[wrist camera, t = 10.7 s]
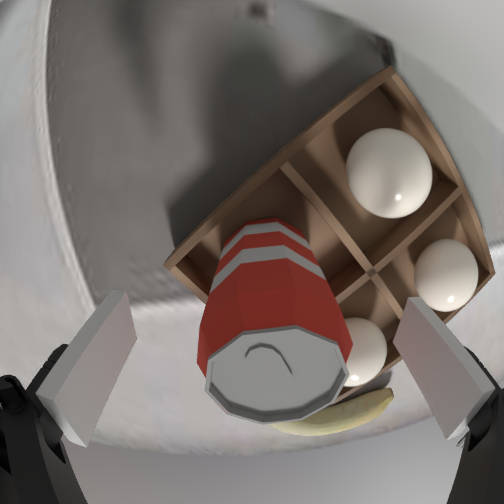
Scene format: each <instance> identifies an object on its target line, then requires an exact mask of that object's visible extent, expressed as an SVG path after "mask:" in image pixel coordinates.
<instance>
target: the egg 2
mask: <svg viewBox="0 0 504 504" xmlns="http://www.w3.org/2000/svg"><path fill="white" fill-rule="evenodd" d="M346 178H347V183H348V186H349V189H350V191H351V193H352V195H353V196H354V198H355V199H356V200H357V202H358V203H359V204H360V205H361V206H362V207H363V208H365V209H366V210H367V211H369V212H371V213H373V214H375V215H377V216H380V217H384V218H400V217H404V216H407V215H409V214H411V213H413V212H414V211H416V210H417V209H418V208H419V207H420V206H421V205H422V204H423V203H424V202H425V200H426V198H427V197H428V195H429V192H430V189H431V185H432V167H431V163H430V160H429V157H428V155H427V153H426V151H425V150H424V148H423V147H422V146H421V144H420V143H419V142H418V141H417V140H416V139H414V138H413V137H412V136H410V135H409V134H407V133H405V132H403V131H400V130H397V129H392V128H380V129H375V130H372V131H369V132H368V133H366V134H364V135H363V136H361V137H360V138H359V139H358V140H357V141H356V142H355V143H354V145H353V146H352V148H351V150H350V152H349V154H348V158H347V162H346Z"/></svg>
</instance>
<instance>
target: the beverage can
mask: <svg viewBox="0 0 504 504" xmlns="http://www.w3.org/2000/svg"><path fill="white" fill-rule="evenodd" d="M352 347H353V342H352V339H351V336H350V334H349V331H348V328H347V325H346V323H345V320H344V317H343V315H342V312H341V309H340V307H339V305H338V303H337V301H336V299H335V297H334V295H333V292H332V290H331V288H330V286H329V284H328V282H327V280H326V278H325V276H324V274H323V272H322V270H321V268H320V266H319V264H318V262H317V260H316V258H315V256H314V254H313V252H312V250H311V248H310V246H309V245H308V243H307V241H306V239H305V237H304V235H303V233H302V231H301V230H299V229H297V228H295V227H293V226H291V225H290V224H288V223H286V222H284V221H282V220H280V219H278V218H276V217H274V218H266V219H259V220H251V221H246V222H245V223H244V224H243V225H242V226H241V227H240V228H239V229H238V230H236V231H235V232H234V233H233V234H232V235H231V236H230V237H229V238H228V239H227V240H226V241H225V244H224V247H223V251H222V254H221V257H220V260H219V263H218V267H217V270H216V273H215V276H214V280H213V283H212V286H211V290H210V293H209V296H208V300H207V303H206V306H205V310H204V313H203V317H202V320H201V323H200V330H199V342H198V354H197V364H198V366H199V367H200V369H201V371H202V372H203V374H204V376H205V377H206V384H205V392H206V393H207V394H208V395H209V396H210V397H211V398H212V399H213V400H214V401H215V402H216V403H217V404H218V405H219V407H220V408H221V409H222V410H223V411H224V412H225V413H226V414H228V415H231V416H235V417H238V418H241V419H245V420H248V421H252V422H255V423H259V424H273V423H283V422H292V421H299V420H303V419H305V418H307V417H309V416H311V415H313V414H314V413H316V412H318V411H320V410H322V409H323V408H325V407H327V406H329V405H330V404H332V403H334V402H335V400H336V398H337V397H338V395H339V393H340V391H341V390H342V388H343V386H344V384H345V382H346V381H347V379H348V377H349V375H350V374H349V371H348V368H347V366H346V363H347V360H348V357H349V355H350V352H351V349H352Z"/></svg>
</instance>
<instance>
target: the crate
mask: <svg viewBox="0 0 504 504" xmlns="http://www.w3.org/2000/svg"><path fill="white" fill-rule="evenodd" d="M380 128H392V129H397V130H400V131H403V132H405V133H407V134H409V135H410V136H412V137H413V138H414V139H416V140H417V141H418V142H419V143H420V144H421V146H422V147H423V148H424V150H425V151H426V153H427V155H428V157H429V160H430V163H431V167H432V185H431V189H430V192H429V195H428V197H427V198H426V200H425V202H424V203H423V204H422V205H421V206H420V207H419V208H418V209H417V210H416V211H414V212H413V213H411V214H409V215H407V216H404V217H400V218H384V217H380V216H377V215H375V214H373V213H371V212H369V211H367V210H366V209H365V208H363V207H362V206H361V205H360V204H359V203H358V202H357V200H356V199H355V198H354V196H353V195H352V193H351V191H350V189H349V186H348V183H347V178H346V162H347V158H348V154H349V152H350V150H351V148H352V146H353V145H354V143H355V142H356V141H357V140H358V139H359V138H360V137H361V136H363V135H364V134H366V133H368V132H369V131H372V130H375V129H380ZM274 217H276V218H278V219H280V220H282V221H284V222H286V223H288V224H290V225H291V226H293V227H295V228H297V229H299V230H301V231H302V233H303V235H304V237H305V239H306V241H307V243H308V245H309V246H310V248H311V250H312V252H313V254H314V256H315V258H316V260H317V262H318V264H319V266H320V268H321V270H322V272H323V274H324V276H325V278H326V280H327V282H328V284H329V286H330V288H331V290H332V292H333V295H334V297H335V299H336V301H337V303H338V305H339V307H340V309H341V312H342V315H343V317H344V319H345V318H351V317H359V318H363V319H367V320H369V321H371V322H373V323H374V324H375V325H376V326H377V327H378V328H379V329H380V330H381V331H382V333H383V335H384V337H385V340H386V344H387V356H386V360H385V363H384V365H383V367H382V369H381V370H380V372H379V373H378V374H377V375H376V376H375V377H374V378H373V379H372V380H374V379H375V378H377V377H378V376H380V375H381V374H383V373H384V372H385V371H387V370H388V369H390V368H391V367H393V366H394V365H395V364H397V363H398V362H399V361H401V360H402V359H403V358H402V357H401V355H400V353H399V352H398V350H397V348H396V347H395V345H394V343H393V340H394V337H395V335H396V332H397V329H398V326H399V324H400V321H401V318H402V315H403V312H404V309H405V306H406V303H407V299H408V297H419V295H418V293H417V291H416V287H415V283H414V269H415V265H416V262H417V259H418V257H419V255H420V254H421V252H422V251H423V250H424V249H425V248H426V247H427V246H428V245H429V244H431V243H433V242H435V241H437V240H440V239H454V240H457V241H459V242H461V243H463V244H464V245H466V246H467V247H468V248H469V249H470V251H471V252H472V254H473V255H474V257H475V259H476V262H477V266H478V282H477V286H476V289H475V291H474V293H473V295H472V297H471V298H470V299H469V301H470V300H471V299H472V298H473V297H474V296H475V295H476V294H477V293H478V292H479V291H480V290H481V289H482V288H483V287H484V286H485V285H486V283H487V282H488V281H489V280H490V279H491V278H492V277H493V276H494V275H495V270H494V266H493V262H492V259H491V255H490V252H489V248H488V245H487V242H486V239H485V236H484V233H483V230H482V227H481V224H480V221H479V219H478V216H477V213H476V211H475V208H474V206H473V203H472V201H471V198H470V196H469V194H468V191H467V189H466V187H465V185H464V182H463V180H462V178H461V176H460V174H459V172H458V170H457V168H456V166H455V164H454V162H453V160H452V158H451V156H450V154H449V152H448V150H447V148H446V147H445V145H444V143H443V141H442V139H441V138H440V136H439V134H438V133H437V131H436V129H435V128H434V126H433V124H432V123H431V121H430V119H429V118H428V116H427V115H426V113H425V112H424V110H423V109H422V107H421V106H420V104H419V103H418V101H417V100H416V98H415V97H414V95H413V94H412V93H411V91H410V90H409V89H408V87H407V86H406V84H405V83H404V82H403V80H402V79H401V78H400V77H399V75H398V74H397V73H396V72H395V70H394V69H393V68H392V67H391V65H390V66H388V67H386V68H385V69H383V70H381V71H379V72H377V73H375V74H373V75H372V76H371V77H369V78H368V79H367V80H365V81H364V82H363V83H361V84H360V85H359V86H357V87H356V88H355V89H354V90H352V91H351V92H350V93H348V94H347V95H346V96H345V97H343V98H342V99H341V100H339V101H338V102H337V103H336V104H334V105H333V106H332V107H331V108H329V109H328V110H327V111H326V112H324V113H323V114H322V115H321V116H320V117H318V118H317V119H316V120H315V121H313V122H312V123H311V124H310V125H309V126H307V127H306V128H305V129H304V130H303V131H301V132H300V133H299V134H298V135H297V136H296V137H294V138H293V139H292V140H291V141H290V142H289V143H287V144H286V145H285V146H284V147H283V148H282V149H280V150H279V151H278V152H277V153H276V154H275V155H274V156H272V157H271V158H270V159H269V160H268V161H267V162H266V163H265V164H263V165H262V166H261V167H260V168H259V169H258V170H257V171H256V172H254V173H253V174H252V175H251V176H250V177H249V178H248V179H247V180H246V181H245V182H243V183H242V184H241V185H240V186H239V187H238V188H237V189H236V190H235V191H234V192H233V193H232V194H231V195H229V196H228V197H227V198H226V199H225V200H224V201H223V202H222V203H221V204H220V205H219V206H218V207H217V208H216V209H215V210H214V211H213V212H212V213H211V214H209V215H208V216H207V217H206V218H205V219H204V220H203V221H202V222H201V223H200V224H199V225H198V226H197V227H196V228H195V229H194V230H193V231H192V232H191V233H190V234H189V235H188V236H187V237H186V238H185V239H184V240H183V241H182V242H181V243H180V244H179V245H178V246H177V247H176V248H175V249H174V250H173V252H172V253H171V254H170V256H169V257H168V259H167V260H166V261H165V263H164V264H163V266H164V267H165V268H166V269H167V270H169V271H170V272H171V273H172V274H173V275H174V276H175V277H176V278H177V279H178V280H179V281H180V282H181V283H182V284H184V285H185V286H186V287H187V288H188V289H189V290H190V291H191V292H192V293H193V294H195V295H196V296H197V297H198V298H199V299H200V300H201V301H202V302H203V303H205V304H206V303H207V300H208V296H209V293H210V290H211V286H212V283H213V280H214V276H215V273H216V270H217V267H218V263H219V260H220V257H221V254H222V251H223V247H224V244H225V241H226V240H227V239H228V238H229V237H230V236H231V235H232V234H233V233H234V232H235V231H236V230H238V229H239V228H240V227H241V226H242V225H243V224H244V223H245V222H246V221H251V220H259V219H266V218H274ZM469 301H468V302H469ZM468 302H467V303H468ZM467 303H466V304H467ZM466 304H464V305H463V306H462V307H460V308H458V309H456V310H453V311H447V312H443V311H437V310H434V309H432V308H431V309H432V310H433V311H434V312H435V314H436V315H437V316H438V317H439V318H440V319H441V320H442V321H443V323H444V324H446V323H447V322H448V321H449V320H450V319H452V318H453V317H454V316H455V315H456V314H457V313H458V312H459V311H460V310H461V309H462V308H463V307H464V306H465V305H466ZM372 380H370V381H369V382H371V381H372ZM369 382H367V383H365V384H362V385H359V386H352V387H347V386H343V388H342V390H341V391H340V393H339V395H338V397H337V398H336V400H335V402H334V403H332V405H333V404H335V403H336V402H338V401H340V400H342V399H343V398H345V397H347V396H348V395H350V394H352V393H353V392H355V391H357V390H358V389H360V388H361V387H363V386H364V385H366V384H368V383H369Z"/></svg>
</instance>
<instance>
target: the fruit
mask: <svg viewBox="0 0 504 504" xmlns="http://www.w3.org/2000/svg"><path fill="white" fill-rule="evenodd" d="M393 398H394V395H393V391H392V389H391V388H385V389H380V390H375V391H371V392H368V393H365V394H363V395H360V396H358V397H356V398H354V399H351V400H348V401H346V402H343V403H340V404H336V405H332V406H327V407H325V408H323V409H322V410H320V411H318V412H316V413H314V414H313V415H311V416H309V417H307V418H305V419H303V420H299V421H292V422H283V423H273V424H269V425H271V426H272V427H274V428H276V429H278V430H281V431H283V432H286V433H290V434H296V435H306V436H318V435H326V434H332V433H336V432H340V431H344V430H348V429H351V428H354V427H357V426H359V425H362V424H364V423H366V422H368V421H370V420H372V419H374V418H376V417H377V416H378V415H380V414H381V413H382V412H383V411H384V410H385V408H386V407H387V406H388V405H389V403H390V402H391V401H392V400H393Z"/></svg>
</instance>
